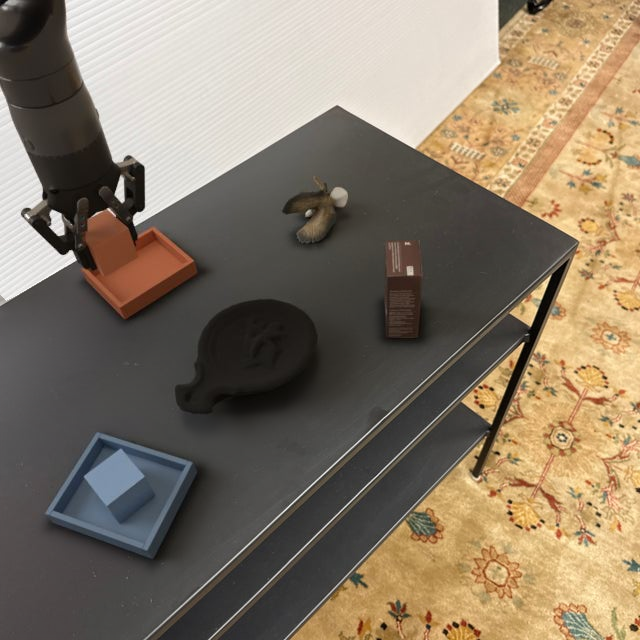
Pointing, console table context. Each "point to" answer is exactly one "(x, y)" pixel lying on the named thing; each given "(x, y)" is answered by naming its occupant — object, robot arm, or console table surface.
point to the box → (403, 288)
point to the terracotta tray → (144, 274)
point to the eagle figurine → (316, 210)
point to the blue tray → (145, 523)
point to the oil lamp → (248, 353)
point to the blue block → (120, 485)
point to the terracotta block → (109, 242)
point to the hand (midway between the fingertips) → (110, 254)
